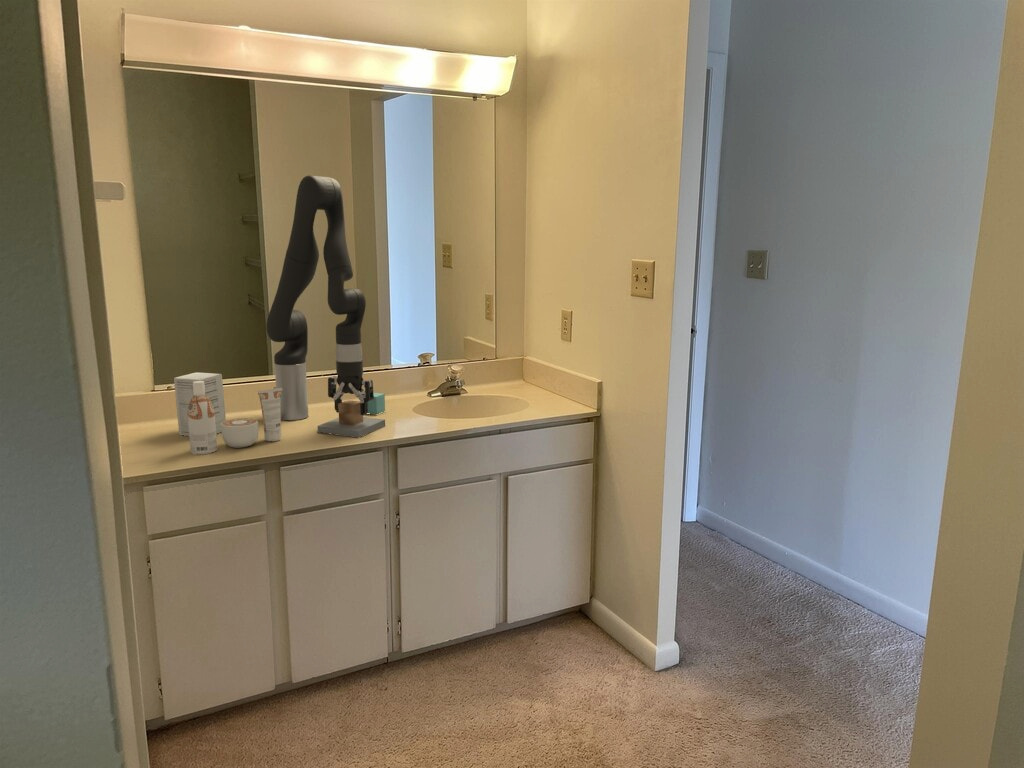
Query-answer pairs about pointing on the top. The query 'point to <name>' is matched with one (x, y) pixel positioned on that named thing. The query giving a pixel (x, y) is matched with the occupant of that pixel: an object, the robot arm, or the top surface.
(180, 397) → the supplement box
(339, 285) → the robot arm
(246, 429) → the cosmetic set
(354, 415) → the walnut block
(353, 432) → the slate base
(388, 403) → the top surface
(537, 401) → the top surface
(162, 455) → the top surface
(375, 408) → the teal block
